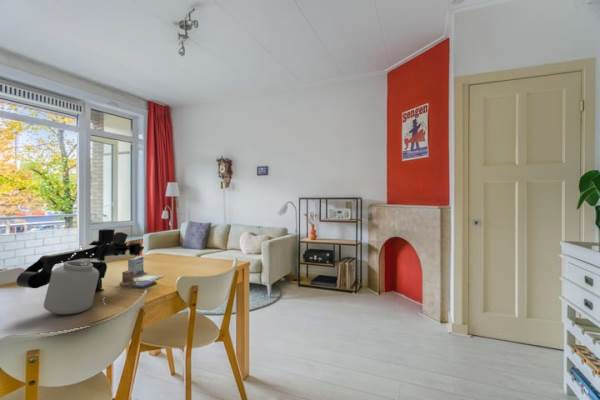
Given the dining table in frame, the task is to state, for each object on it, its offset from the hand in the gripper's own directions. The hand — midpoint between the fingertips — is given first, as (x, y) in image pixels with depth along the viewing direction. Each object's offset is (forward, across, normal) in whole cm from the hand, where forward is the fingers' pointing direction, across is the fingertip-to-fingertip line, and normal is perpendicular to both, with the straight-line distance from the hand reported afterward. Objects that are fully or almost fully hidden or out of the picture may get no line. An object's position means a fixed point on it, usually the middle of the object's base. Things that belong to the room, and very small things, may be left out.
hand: (136, 247), depth 157 cm
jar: (-42, -14, +21) cm, 49 cm away
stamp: (-10, -6, +18) cm, 21 cm away
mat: (0, -8, +16) cm, 18 cm away
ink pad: (-10, -15, +18) cm, 25 cm away
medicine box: (+8, +8, +15) cm, 19 cm away
